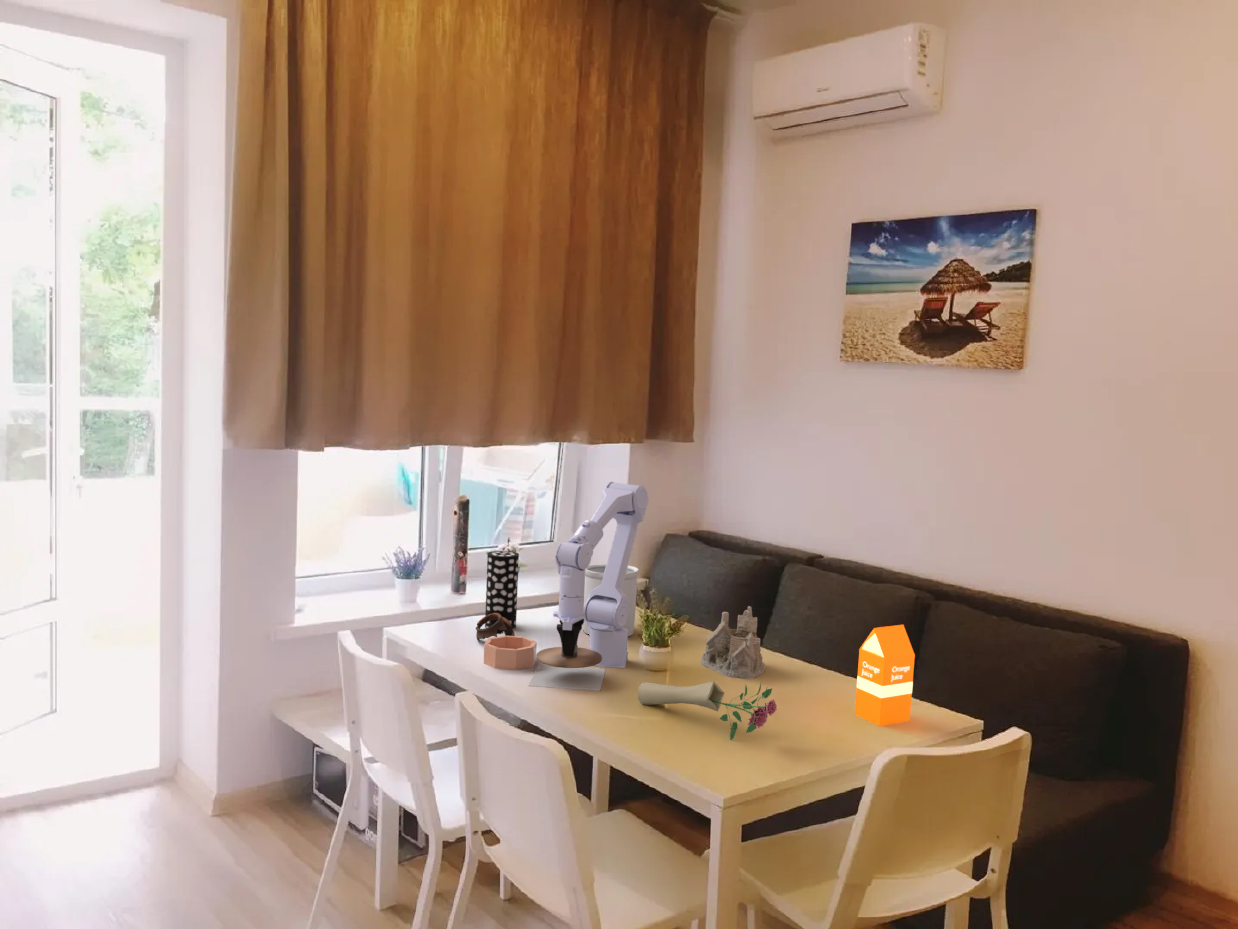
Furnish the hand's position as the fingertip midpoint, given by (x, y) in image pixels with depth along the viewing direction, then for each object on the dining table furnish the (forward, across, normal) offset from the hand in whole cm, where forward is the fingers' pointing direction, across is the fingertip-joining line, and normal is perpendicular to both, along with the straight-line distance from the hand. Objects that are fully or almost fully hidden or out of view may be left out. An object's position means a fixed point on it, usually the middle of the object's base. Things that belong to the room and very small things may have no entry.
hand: (569, 653), depth 239 cm
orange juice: (+6, +12, +69) cm, 70 cm away
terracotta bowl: (+6, -9, -15) cm, 19 cm away
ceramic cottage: (+7, -18, +38) cm, 42 cm away
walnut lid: (+1, 0, 0) cm, 1 cm away
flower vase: (+6, +25, +31) cm, 40 cm away
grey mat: (+6, 0, 0) cm, 6 cm away
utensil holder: (+7, -43, +6) cm, 44 cm away
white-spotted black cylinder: (+6, -41, -23) cm, 47 cm away
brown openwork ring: (+6, -28, -22) cm, 36 cm away
